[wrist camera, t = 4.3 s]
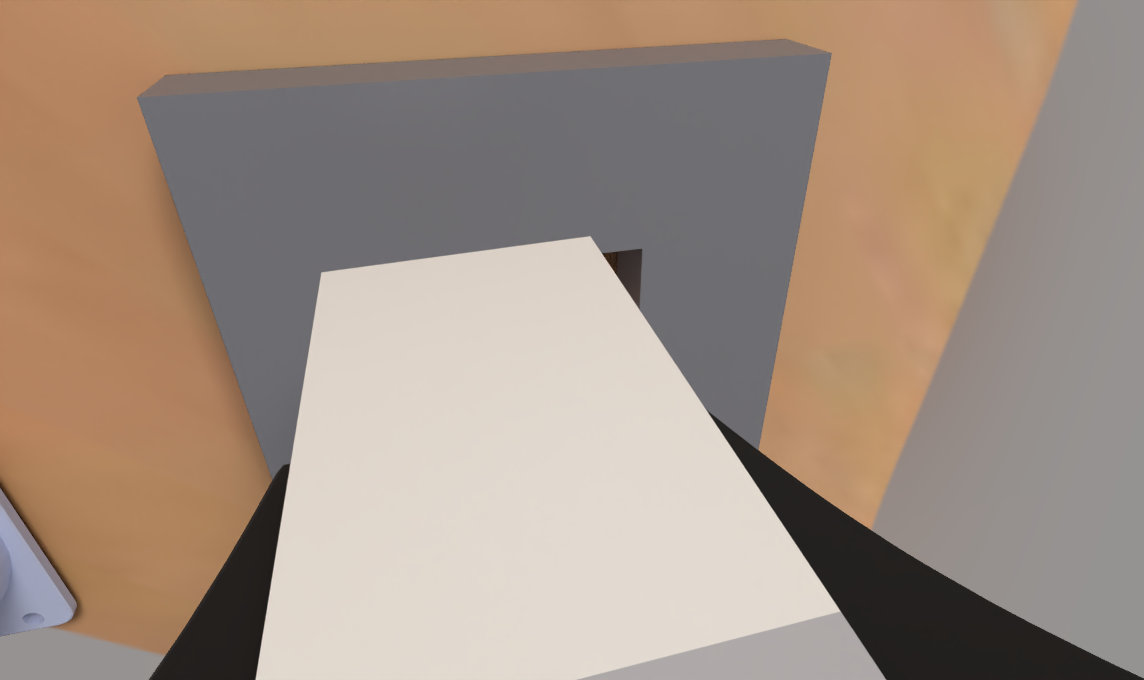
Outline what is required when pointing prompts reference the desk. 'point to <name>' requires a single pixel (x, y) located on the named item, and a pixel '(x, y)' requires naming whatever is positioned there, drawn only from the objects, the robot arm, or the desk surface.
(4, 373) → the desk surface
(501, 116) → the socket plate
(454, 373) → the plug
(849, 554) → the robot arm
